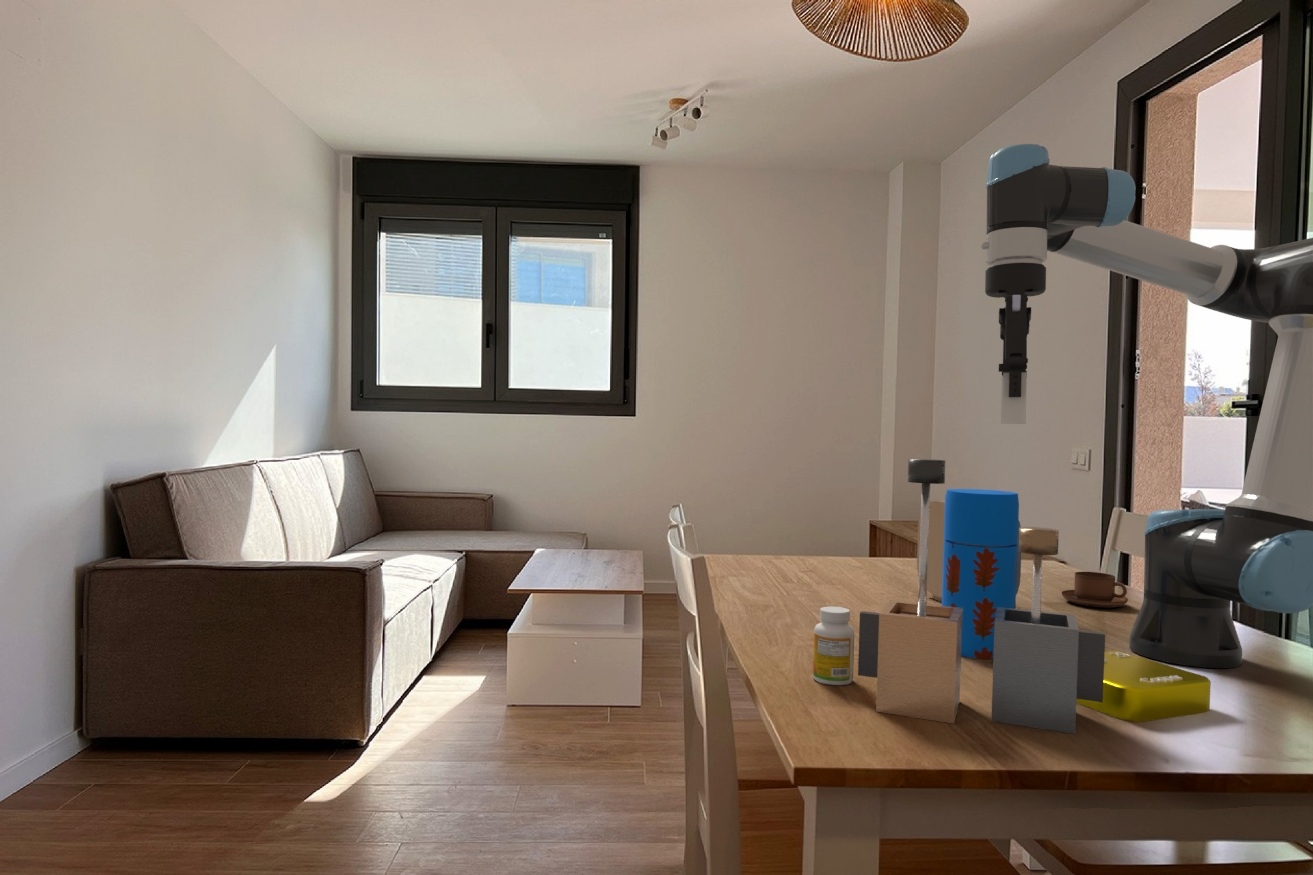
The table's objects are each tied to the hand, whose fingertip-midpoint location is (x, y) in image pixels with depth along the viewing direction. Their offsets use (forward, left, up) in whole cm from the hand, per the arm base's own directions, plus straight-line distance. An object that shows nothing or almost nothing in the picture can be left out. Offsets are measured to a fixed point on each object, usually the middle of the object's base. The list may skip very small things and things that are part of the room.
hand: (1012, 424), depth 116 cm
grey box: (-5, +11, -36) cm, 38 cm away
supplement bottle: (+21, +8, -36) cm, 43 cm away
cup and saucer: (-15, -70, -36) cm, 80 cm away
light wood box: (+11, +14, -36) cm, 40 cm away
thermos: (+4, -19, -36) cm, 41 cm away
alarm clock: (+8, -56, -36) cm, 67 cm away
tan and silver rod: (-4, +11, -34) cm, 36 cm away
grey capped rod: (+9, +14, -26) cm, 31 cm away
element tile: (-14, -2, -36) cm, 39 cm away
